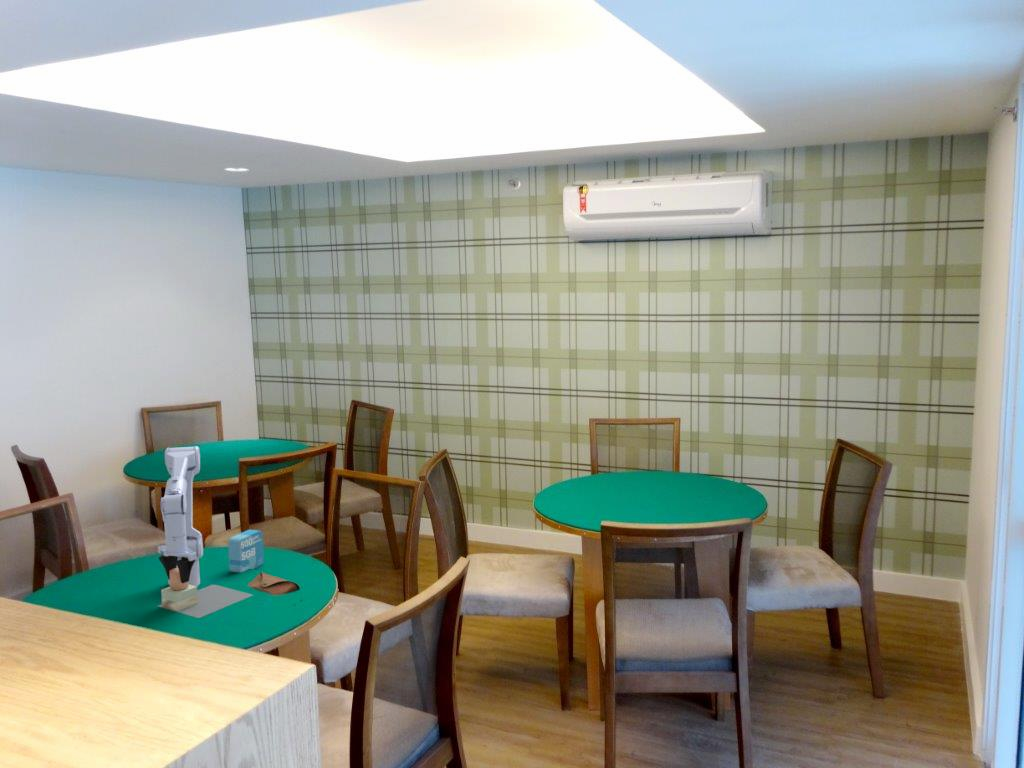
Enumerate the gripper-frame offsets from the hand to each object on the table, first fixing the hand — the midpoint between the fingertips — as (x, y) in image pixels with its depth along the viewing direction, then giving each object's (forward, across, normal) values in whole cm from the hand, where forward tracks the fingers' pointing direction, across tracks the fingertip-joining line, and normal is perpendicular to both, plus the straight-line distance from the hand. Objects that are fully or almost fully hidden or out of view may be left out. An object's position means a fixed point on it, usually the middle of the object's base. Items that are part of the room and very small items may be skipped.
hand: (178, 580), depth 248 cm
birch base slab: (+7, 0, 0) cm, 7 cm away
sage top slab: (+5, 0, 0) cm, 5 cm away
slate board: (+8, +4, +6) cm, 11 cm away
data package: (+9, -9, +33) cm, 35 cm away
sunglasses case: (+9, +13, +23) cm, 28 cm away
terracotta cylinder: (+2, 0, 0) cm, 2 cm away
